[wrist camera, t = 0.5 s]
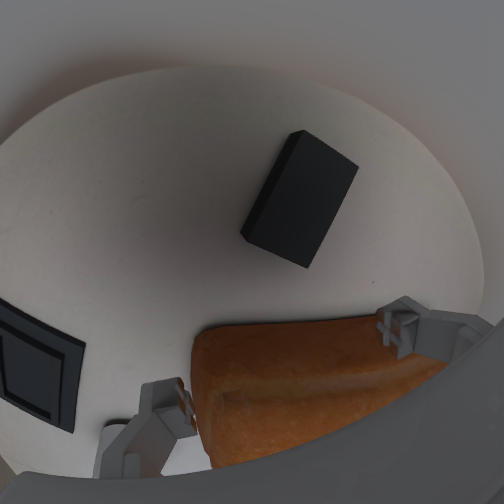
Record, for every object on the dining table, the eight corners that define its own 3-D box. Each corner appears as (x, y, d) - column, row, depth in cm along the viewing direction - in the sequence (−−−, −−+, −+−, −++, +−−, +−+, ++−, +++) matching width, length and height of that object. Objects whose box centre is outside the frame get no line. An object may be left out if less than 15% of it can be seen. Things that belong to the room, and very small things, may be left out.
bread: (188, 319, 26) (202, 459, 12) (430, 303, 34) (507, 356, 19) (192, 411, 30) (208, 522, 15) (401, 377, 38) (456, 436, 23)
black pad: (295, 258, 27) (307, 269, 24) (239, 232, 25) (246, 241, 22) (342, 166, 25) (359, 167, 22) (290, 133, 23) (304, 129, 20)
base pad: (74, 429, 27) (71, 440, 25) (-5, 388, 23) (-10, 397, 21) (85, 342, 24) (80, 355, 22) (-13, 289, 20) (-23, 297, 18)
